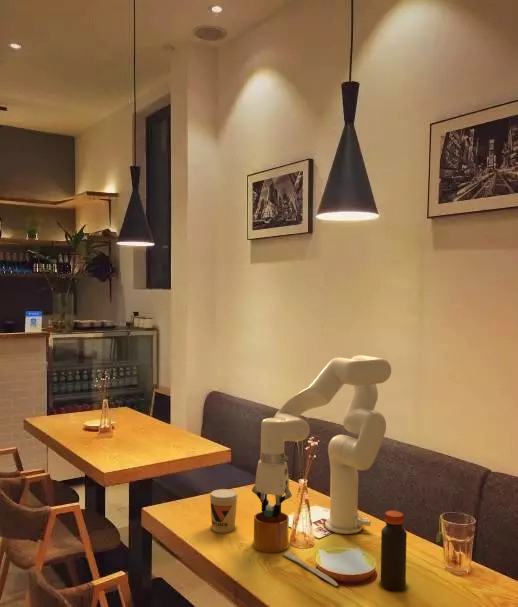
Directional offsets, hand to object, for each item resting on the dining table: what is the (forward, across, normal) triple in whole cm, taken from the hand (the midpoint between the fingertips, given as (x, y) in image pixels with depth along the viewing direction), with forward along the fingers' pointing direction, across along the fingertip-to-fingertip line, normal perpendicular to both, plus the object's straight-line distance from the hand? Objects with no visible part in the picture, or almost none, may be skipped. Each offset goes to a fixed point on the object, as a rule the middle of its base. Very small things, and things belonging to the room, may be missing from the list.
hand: (271, 514), depth 190 cm
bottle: (+10, -41, +9) cm, 43 cm away
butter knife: (+10, -17, +10) cm, 22 cm away
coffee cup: (+10, +20, -5) cm, 23 cm away
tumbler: (+10, 0, 0) cm, 10 cm away
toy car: (0, 0, 0) cm, 0 cm away
